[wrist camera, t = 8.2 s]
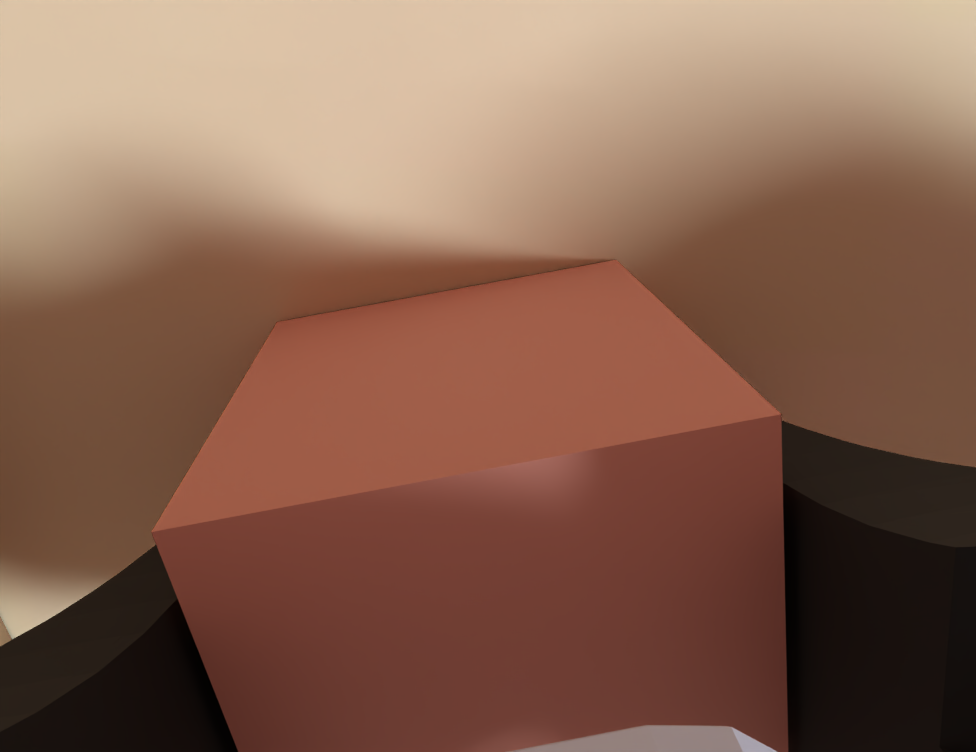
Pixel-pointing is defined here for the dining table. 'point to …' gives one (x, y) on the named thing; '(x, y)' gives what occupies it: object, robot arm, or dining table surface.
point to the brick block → (487, 527)
